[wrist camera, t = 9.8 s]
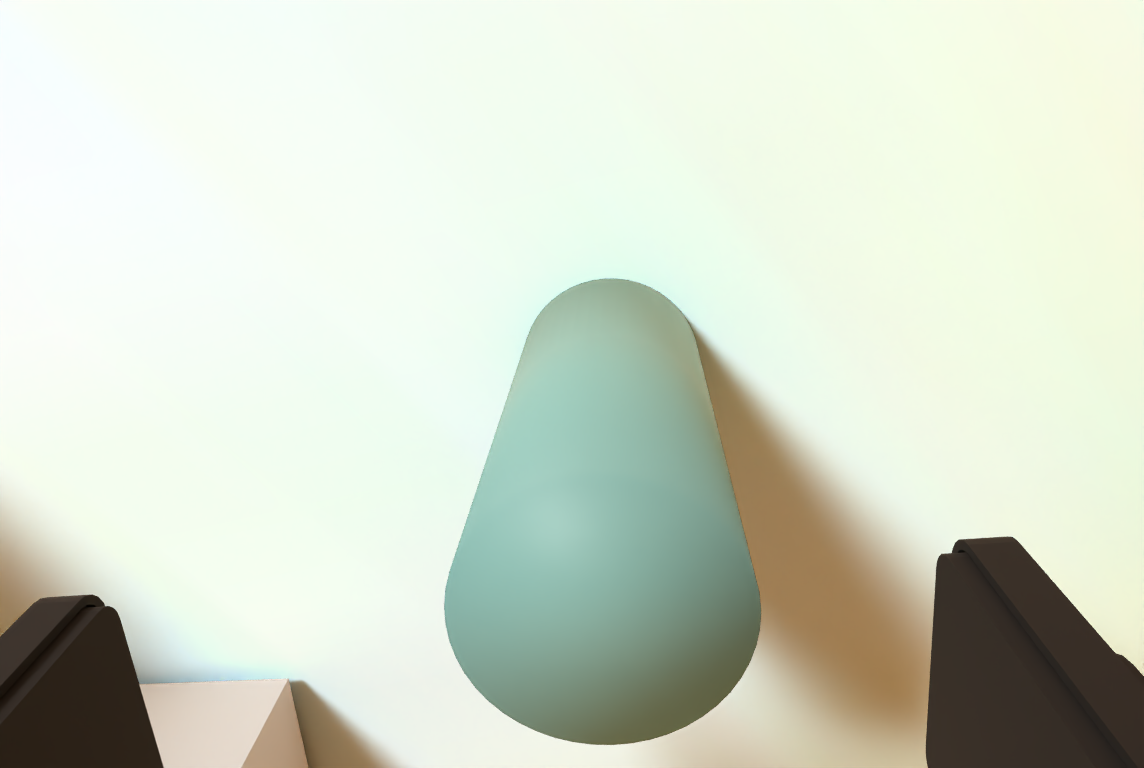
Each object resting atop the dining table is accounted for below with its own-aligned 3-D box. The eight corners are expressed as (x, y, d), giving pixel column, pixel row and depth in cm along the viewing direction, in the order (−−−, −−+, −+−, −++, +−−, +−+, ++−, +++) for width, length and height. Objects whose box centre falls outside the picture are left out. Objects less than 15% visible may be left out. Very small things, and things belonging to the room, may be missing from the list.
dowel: (694, 272, 20) (758, 464, 11) (701, 439, 22) (763, 739, 12) (515, 285, 21) (423, 483, 11) (532, 449, 22) (464, 749, 12)
